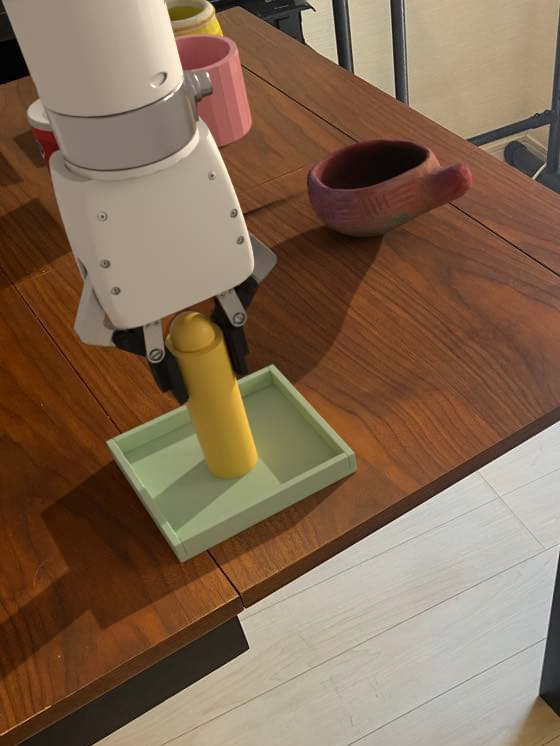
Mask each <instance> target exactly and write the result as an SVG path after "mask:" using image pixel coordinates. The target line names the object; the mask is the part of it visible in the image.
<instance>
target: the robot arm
mask: <svg viewBox="0 0 560 746" xmlns="http://www.w3.org/2000/svg"><path fill="white" fill-rule="evenodd" d="M1 2H2V5H3V7H4V10H5V12H6V15H7V17H8V20H9V22H10V25H11V28H12V30H13V33H14V35H15V38H16V41H17V43H18V45H19V47H20V51H21V53H22V56H23V58H24V61H25V64H26V66H27V69H28V73H29V74H30V78H31V80H32V81H33V84H34V87H35V90H36V92H37V95H38V97H39V99H40V100H41V102H42V105H43V107H44V110H45V112H46V115H47V118H48V120H49V123H50V125H51V128H52V130H53V133H54V136H55V138H56V141H57V143H58V146H59V148H60V150H58V151H56V152H54V153H53V154H52V155H51V157H50V159H49V165H50V172H51V176H50V178H51V177H52V178H51V183H52V186H53V191H54V195H55V200H56V203H57V208H58V211H59V214H60V217H61V222H62V224H63V227H64V230H65V231H64V232H65V233H66V237H67V241H68V242H69V246H70V248H71V250H72V254H73V257H74V260H75V262H76V265H77V268H78V271H79V274H80V276H81V279H82V281H83V286H82V287H83V288H82V292H81V296H80V300H79V305H78V309H77V313H76V316H75V321H74V325H73V331H74V333H75V334H76V336H77V337H78V339H79V340H80V341H81V343H83V344H85V345H90V346H99V347H106V348H110V347H115V348H117V349H119V350H120V351H123V352H127V353H131V354H134V355H137V356H140V357H143V358H145V359H146V363H147V364H148V368H149V370H150V372H151V375H152V378H153V381H154V383H155V384H156V386H157V387H158V389H159V390H160V392H161V393H162V394H165V393H167V392H170V393H171V394H172V396H173V398H175V400H176V401H177V402H178V403H179V405H180V406H183V405H185V403H186V402H188V399H189V396H188V393H187V390H186V387H185V384H184V381H183V378H182V375H181V373H180V370H179V367H178V364H177V361H176V359H175V357H174V356H173V354H172V353H171V352H170V351H169V349H168V348H167V347H166V346H165V340H164V334H163V326H162V319H164V318H166V317H168V316H170V315H172V314H175V313H177V312H181V311H182V310H184V309H187V308H189V307H192V306H194V305H196V304H198V303H201V302H204V301H205V300H208V299H211V301H212V303H213V305H214V307H213V308H211V309H210V310H209V311H210V315H209V320H210V321H211V322H212V323H214V324H216V325H218V327H219V328H220V329H221V330H222V331H223V334H224V338H225V341H226V345H227V348H228V352H229V355H230V359H231V363H232V366H233V370H234V373H235V375H237V376H238V377H240V376H241V377H245V376H248V375H250V374H249V373H250V371H249V368H248V365H247V361H246V360H247V359H246V356H248V355H250V349H249V344H248V340H247V336H246V333H245V329H244V325H245V323H246V322H247V319H248V315H247V310H248V308H249V307H250V305H251V302H252V301H253V300H254V297H255V296H256V293H257V292H258V290H259V284H260V283H261V282H263V281H264V280H265V278H266V277H267V276H268V275H269V274H270V272H271V271H272V270H273V269H274V267H275V266H276V264H277V263H278V256H277V255H276V253H274V252H273V251H272V250H271V249H270V248H269V247H268V246H267V245H266V244H264V243H263V242H262V241H261V240H260V239H258V238H257V237H256V236H255V235H254V234H252V233H251V232H250V231H249V230H248V227H247V224H246V221H245V217H244V215H243V211H242V208H241V205H240V201H239V199H238V196H237V193H236V191H235V188H234V185H233V182H232V179H231V177H230V175H229V172H228V169H227V167H226V164H225V161H224V159H223V157H222V154H221V152H220V149H219V147H217V145H216V143H215V141H214V139H213V137H212V135H211V133H210V131H209V129H208V127H207V125H206V124H205V123H204V122H203V121H202V119H201V118H200V117H199V116H198V113H197V102H200V101H202V98H203V97H206V96H209V95H212V94H213V87H212V83H211V80H210V78H209V76H208V74H207V72H206V71H205V70H204V69H201V70H198V71H195V72H192V71H191V70H188V71H185V70H184V69H182V66H181V62H180V58H179V54H178V50H177V46H176V42H175V38H174V34H173V30H172V26H171V22H170V18H169V14H168V10H167V6H166V2H165V0H1ZM106 316H107V317H108V319H109V320H110V321H108V320H106Z"/></svg>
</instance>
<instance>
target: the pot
mask: <svg viewBox="0 0 560 746" xmlns="http://www.w3.org/2000/svg"><path fill="white" fill-rule="evenodd" d="M175 42H176V46H177V50H178V54H179V58H180V62H181V66H182V69H184V70H185V71H188V70H191V71H192V72H195V71H198V70H201V69H204V70H205V71H206V72H207V74H208V76H209V78H210V80H211V83H212V87H213V94H212V95H209V96H206V97H203V98H202V101H200V102H197V113H198V116H199V117H200V118H201V119H202V121H203V122H204V123H205V124H206V125H207V127H208V129H209V131H210V133H211V135H212V137H213V139H214V141H215V143H216V145H217V148H220V147H224V146H227V145H231V144H232V143H235V142H236V141H239V140H240V139H242V138H243V137H244V136H246V135H247V134H248V133H249V131H250V129H251V128H252V123H253V119H252V114H251V109H250V105H249V99H248V95H247V90H246V85H245V84H246V83H245V80H244V79H245V78H244V75H243V70H242V64H241V59H240V54H239V49H238V46H237V44H236V42H235V41H234V40H232V39H231V38H230V37H227V36H224V35H223V36H220V35H215V34H191V35H185V36H179V37H175Z"/></svg>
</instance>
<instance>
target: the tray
mask: <svg viewBox="0 0 560 746" xmlns="http://www.w3.org/2000/svg"><path fill="white" fill-rule="evenodd" d="M236 380H237V384H238V388H239V391H240V395H241V398H242V402H243V405H244V409H245V412H246V416H247V420H248V423H249V427H250V430H251V434H252V437H253V441H254V444H255V448H256V452H257V456H258V458H257V462H256V465H255V466H254V468H253V469H252V470H251V471H250V472H248V473H247V474H245V475H243V476H241V477H238V478H234V479H222V478H219V477H216V476H214V475H213V474H212V473H211V472H210V471H209V469H208V467H207V464H206V461H205V458H204V455H203V452H202V450H201V447H200V444H199V441H198V438H197V435H196V433H195V430H194V427H193V424H192V421H191V418H190V416H189V413H188V410H187V407H186V404H182V405H180V406H178V407H177V408H175V409H172V410H171V411H168V412H167V413H164V414H162V415H160V416H157V417H155V418H152V419H150V420H149V421H147V422H145V423H142V424H140V425H138V426H136V427H134V428H132V429H130V430H127V431H125V432H123V433H121V434H119V435H117V436H114V437H112V438H110V439H108V440H106V441H105V444H106V446H107V448H108V450H109V452H110V454H111V456H112V458H113V460H114V461H115V463H116V465H117V466H118V468H119V469H120V471H121V472H122V474H123V475H124V477H125V479H126V480H127V482H128V483H129V485H130V486H131V488H132V490H133V491H134V493H135V494H136V496H137V497H138V499H139V500H140V502H141V503H142V505H143V507H144V508H145V510H146V511H147V512H148V514H149V516H150V517H151V519H152V520H153V522H154V523H155V525H156V527H157V528H158V530H159V531H160V533H161V535H162V536H163V537H164V539H165V541H166V542H167V543H168V545H169V548H171V550H172V552H173V553H174V554H175V556H176V558H177V559H178V561H179V562H180V563H181V564H183V563H185V562H186V561H188V560H190V559H192V558H194V557H196V556H198V555H200V554H201V553H203V552H206V551H207V550H209V549H211V548H213V547H214V546H216V545H219V544H221V543H223V542H225V541H226V540H228V539H230V538H232V537H234V536H235V535H237V534H239V533H242V532H243V531H246V530H247V529H249V528H251V527H252V526H255V525H256V524H259V523H261V522H262V521H265V520H266V519H268V518H270V517H272V516H273V515H275V514H277V513H279V512H281V511H283V510H285V509H287V508H289V507H291V506H293V505H294V504H297V503H298V502H301V501H303V500H304V499H306V498H308V497H310V496H312V495H314V494H316V493H317V492H320V491H321V490H323V489H325V488H327V487H329V486H330V485H332V484H334V483H336V482H338V481H340V480H342V479H344V478H346V477H348V476H349V475H352V474H353V473H355V472H357V471H358V467H357V461H356V455H355V451H353V450H352V449H351V447H350V446H349V445H348V444H347V443H346V442H345V441H344V440H343V439H342V437H340V435H339V434H338V433H337V432H336V431H335V430H334V429H333V428H332V427H331V425H330V424H329V423H327V421H326V420H325V419H324V418H323V417H322V416H321V415H320V414H319V413H318V411H316V409H315V408H314V407H313V406H312V405H311V404H310V403H309V402H308V401H307V400H306V398H305V397H304V396H303V395H302V394H301V393H300V392H299V391H298V390H297V389H296V388H295V387H294V385H292V383H291V382H290V381H289V380H288V379H287V378H286V376H285V375H284V374H282V372H281V371H280V370H279V369H278V368H277V367H276V366H275V365H274V364H273V363H272V364H269V365H268V366H265V367H263V368H261V369H259V370H257V371H255V372H253V373H250V374H247V375H245V376H243V377H242V378H240V379H236Z"/></svg>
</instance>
